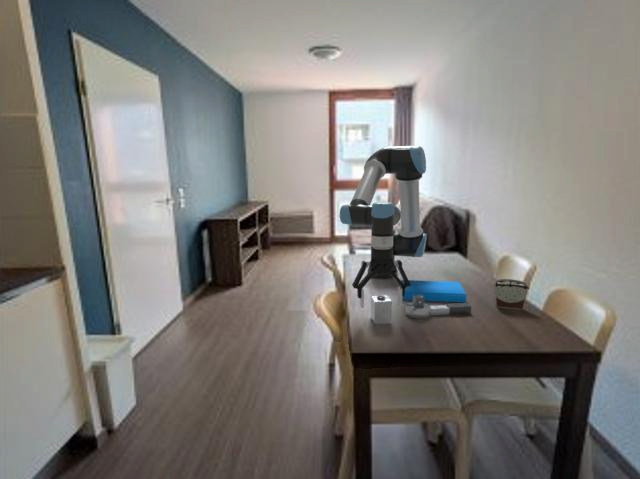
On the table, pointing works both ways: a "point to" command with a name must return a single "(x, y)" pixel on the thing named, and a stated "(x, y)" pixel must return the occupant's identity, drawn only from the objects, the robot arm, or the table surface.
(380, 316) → the grey block with knob
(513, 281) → the food container
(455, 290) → the book
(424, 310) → the ratchet
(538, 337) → the table surface
